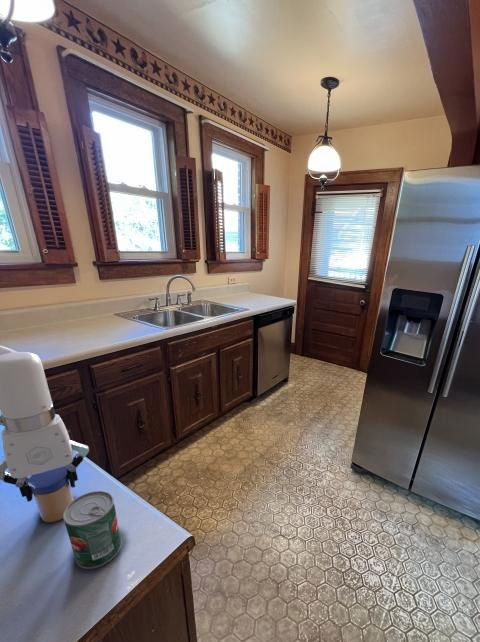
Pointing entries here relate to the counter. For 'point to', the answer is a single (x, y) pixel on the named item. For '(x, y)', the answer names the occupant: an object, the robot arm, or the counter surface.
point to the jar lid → (48, 481)
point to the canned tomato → (93, 529)
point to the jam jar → (54, 503)
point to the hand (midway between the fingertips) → (52, 489)
